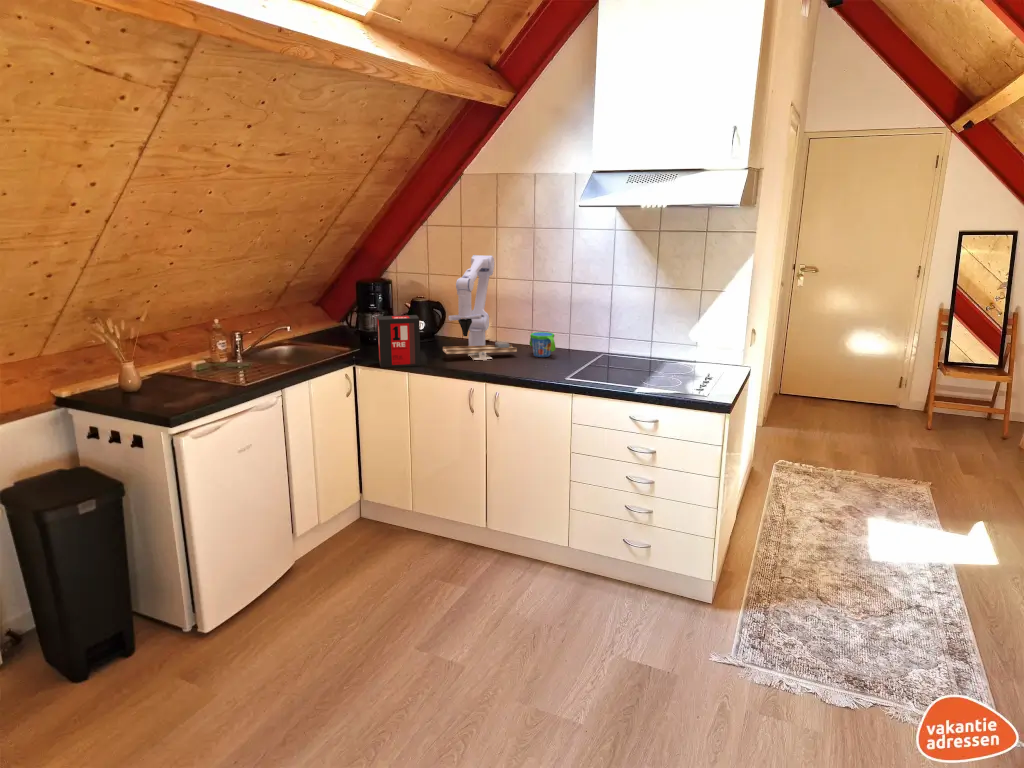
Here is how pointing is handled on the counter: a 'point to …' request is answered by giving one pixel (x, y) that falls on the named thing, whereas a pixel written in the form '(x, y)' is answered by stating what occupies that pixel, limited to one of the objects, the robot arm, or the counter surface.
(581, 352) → the counter surface
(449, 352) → the beam
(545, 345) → the snack cup
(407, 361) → the cleaning product box
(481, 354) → the fulcrum stand
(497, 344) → the steel block
